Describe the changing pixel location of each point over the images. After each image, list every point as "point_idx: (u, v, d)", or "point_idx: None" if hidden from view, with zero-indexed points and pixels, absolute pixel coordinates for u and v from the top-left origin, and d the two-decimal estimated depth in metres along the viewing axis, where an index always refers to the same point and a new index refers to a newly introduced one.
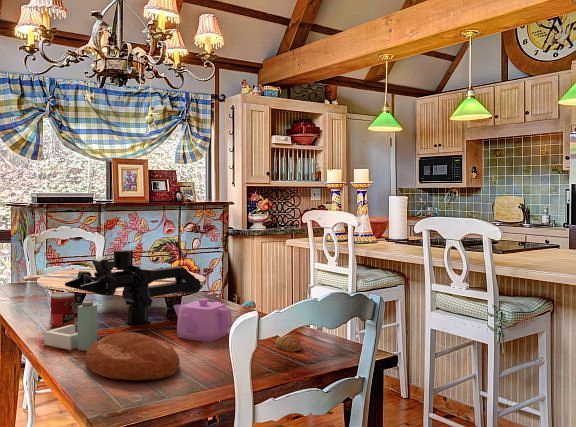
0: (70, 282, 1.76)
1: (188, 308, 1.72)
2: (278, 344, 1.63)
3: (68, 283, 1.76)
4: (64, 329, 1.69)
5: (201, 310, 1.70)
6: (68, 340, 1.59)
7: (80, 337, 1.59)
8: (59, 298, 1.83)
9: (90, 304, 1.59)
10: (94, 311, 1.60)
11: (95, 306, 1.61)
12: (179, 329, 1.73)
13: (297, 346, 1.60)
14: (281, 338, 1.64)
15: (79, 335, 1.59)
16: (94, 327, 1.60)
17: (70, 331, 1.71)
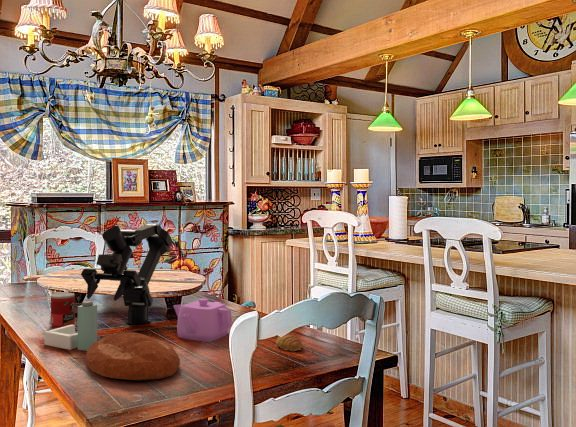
0: (90, 292, 1.70)
1: (188, 308, 1.72)
2: (279, 344, 1.64)
3: (89, 295, 1.69)
4: (64, 329, 1.69)
5: (201, 310, 1.70)
6: (68, 340, 1.59)
7: (80, 337, 1.59)
8: (59, 298, 1.83)
9: (90, 304, 1.59)
10: (94, 311, 1.60)
11: (95, 306, 1.61)
12: (179, 329, 1.73)
13: (298, 346, 1.60)
14: (282, 338, 1.64)
15: (79, 335, 1.59)
16: (94, 327, 1.60)
17: (70, 331, 1.71)
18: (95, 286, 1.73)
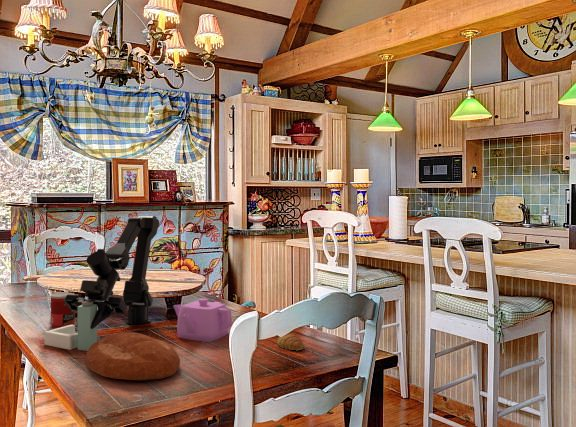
0: None
1: (188, 308, 1.72)
2: (280, 344, 1.64)
3: None
4: (64, 329, 1.69)
5: (201, 310, 1.70)
6: (68, 340, 1.59)
7: (80, 337, 1.59)
8: (59, 298, 1.83)
9: (90, 304, 1.59)
10: (94, 311, 1.60)
11: (95, 306, 1.61)
12: (179, 329, 1.73)
13: (299, 345, 1.61)
14: (283, 338, 1.65)
15: (79, 335, 1.59)
16: None
17: (70, 331, 1.71)
18: None
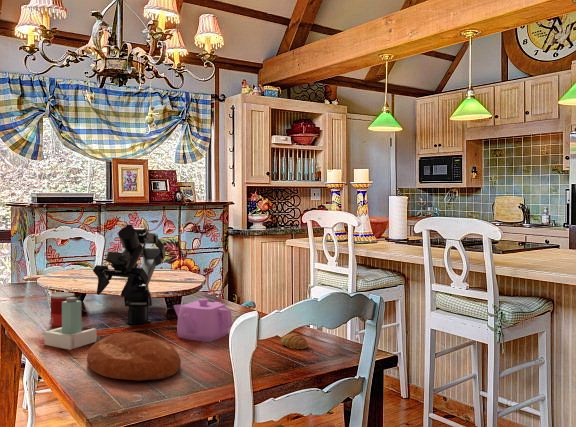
0: (99, 288, 1.76)
1: (188, 308, 1.72)
2: (284, 343, 1.65)
3: (99, 291, 1.75)
4: None
5: (201, 310, 1.70)
6: (68, 340, 1.59)
7: (64, 331, 1.65)
8: (59, 298, 1.83)
9: (73, 300, 1.65)
10: (77, 307, 1.65)
11: (78, 302, 1.66)
12: (179, 329, 1.73)
13: (304, 344, 1.63)
14: (287, 337, 1.66)
15: (63, 329, 1.65)
16: (77, 322, 1.66)
17: None
18: (106, 282, 1.79)
